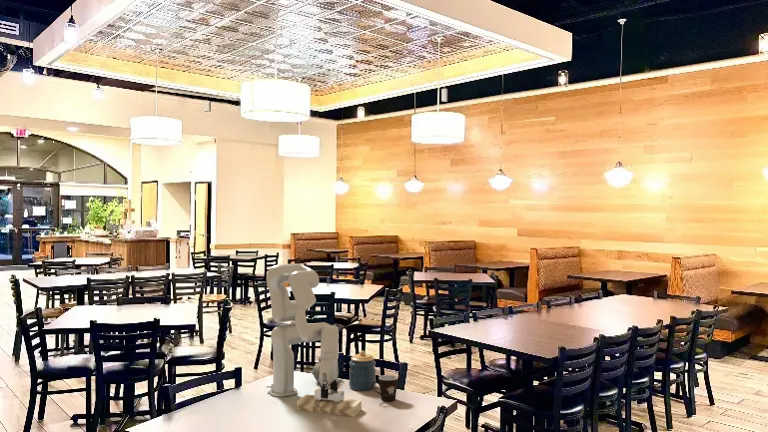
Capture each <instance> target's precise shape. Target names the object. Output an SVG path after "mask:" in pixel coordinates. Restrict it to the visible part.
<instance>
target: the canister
mask: <svg viewBox="0 0 768 432" xmlns="http://www.w3.org/2000/svg"><path fill="white" fill-rule="evenodd" d="M350 359H351V360H350V361H349V362H348V363H349V367H350V368H349V370H348V371H349V380H348V381H349V382H348V386H349V389H350V390H354V391H360V392H361V391H363V392H365V391H370V390H371V391H372V390H373V389H374V390H375V388H376V385H377V383H374V384H373V389H372V387H371V385H372V383H373V382H375V381H377V379H376V375H377V373H376V371H377V369H376V367H375V366H376V364H377V363H376V361H375V357H374V356H373V355H372V354H369V353H366V351H365V350H361V351H359V353H357V354H354V355H353V356H351V357H350Z"/></svg>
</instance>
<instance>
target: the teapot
mask: <svg viewBox="0 0 768 432" xmlns="http://www.w3.org/2000/svg"><path fill="white" fill-rule="evenodd" d="M320 362H321V355H320V356H318V361H317V362H316V363H315V364H314V366H313V367H312V376H313V378H314V379H315V381H316V382H317V383H320V382H319V372H320ZM326 382H327V381H326Z"/></svg>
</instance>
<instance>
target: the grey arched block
mask: <svg viewBox="0 0 768 432" xmlns="http://www.w3.org/2000/svg"><path fill="white" fill-rule="evenodd" d="M314 395H315V397H314V398H317V401H318V402H322V401H323V400H324V398H321V389H320V388H317V389H315V390H314ZM343 399H345V391H344V390H338V391H337V390H330V389H328V399H326V400H334V403H336V404H339V403H341V402H342V400H343Z"/></svg>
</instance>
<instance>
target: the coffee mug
mask: <svg viewBox="0 0 768 432" xmlns="http://www.w3.org/2000/svg"><path fill="white" fill-rule="evenodd" d="M398 379H399V377H398V376H396V375H391V374H385V375H380V376H379V377H378V381H377V380H376V381H375V382H373V383H372V385H371V387H372V389H371V390H373V391H374V392H375V393H377V394H378V395H380V401H382V402H385V403H393V402H394V401H396V398H397V397H396V396H397V390H398V382H399V381H398ZM374 383H376V384H378V386H379V390H380V391H377V390H376V389H375V388H374V389H373V384H374Z"/></svg>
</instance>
